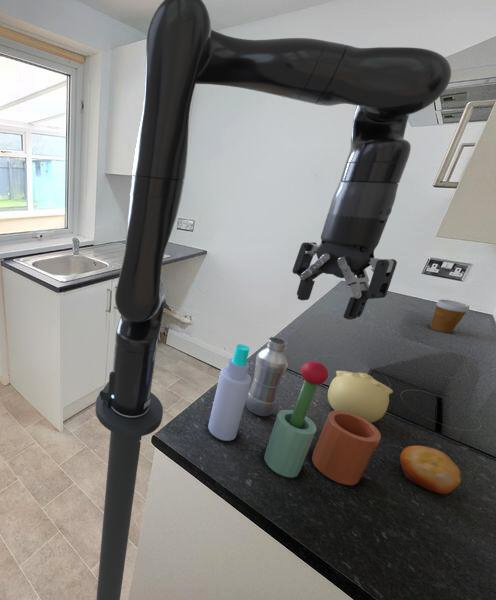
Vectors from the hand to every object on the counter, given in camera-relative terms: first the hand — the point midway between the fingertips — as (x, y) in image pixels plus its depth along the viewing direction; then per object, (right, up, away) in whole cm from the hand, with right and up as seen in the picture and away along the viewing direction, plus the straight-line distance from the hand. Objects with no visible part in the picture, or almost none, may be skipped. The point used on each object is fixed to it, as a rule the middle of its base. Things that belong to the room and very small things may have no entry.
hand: (324, 308), depth 55 cm
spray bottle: (-12, -29, +16) cm, 35 cm away
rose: (-2, -31, +9) cm, 32 cm away
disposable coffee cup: (+106, -11, +77) cm, 131 cm away
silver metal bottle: (0, -27, +24) cm, 36 cm away
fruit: (+24, -34, +7) cm, 42 cm away
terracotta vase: (+8, -33, +9) cm, 35 cm away
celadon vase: (-2, -32, +9) cm, 33 cm away
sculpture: (+25, -27, +25) cm, 44 cm away
